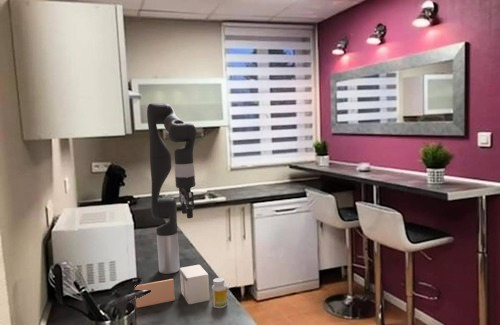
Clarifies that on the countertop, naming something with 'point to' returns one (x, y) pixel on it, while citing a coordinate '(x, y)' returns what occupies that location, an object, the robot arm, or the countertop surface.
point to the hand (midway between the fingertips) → (187, 215)
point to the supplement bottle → (219, 293)
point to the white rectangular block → (194, 284)
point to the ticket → (156, 293)
